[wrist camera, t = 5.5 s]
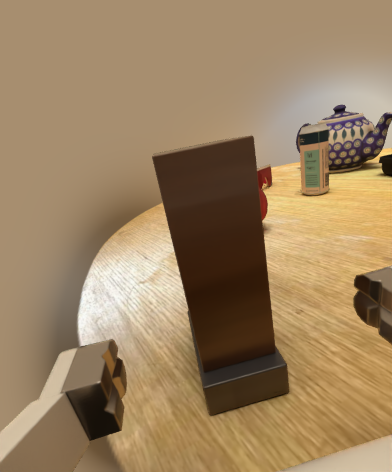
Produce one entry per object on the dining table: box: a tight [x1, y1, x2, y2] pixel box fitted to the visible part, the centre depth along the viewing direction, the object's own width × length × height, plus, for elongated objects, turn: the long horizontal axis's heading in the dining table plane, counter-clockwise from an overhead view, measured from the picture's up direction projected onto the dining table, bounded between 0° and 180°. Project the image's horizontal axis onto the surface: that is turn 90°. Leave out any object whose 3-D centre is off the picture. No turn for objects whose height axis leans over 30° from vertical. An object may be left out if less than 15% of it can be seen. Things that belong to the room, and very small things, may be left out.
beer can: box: [299, 123, 329, 195], centre depth 46 cm, size 5×5×12 cm
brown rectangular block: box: [152, 136, 289, 415], centre depth 14 cm, size 6×4×13 cm
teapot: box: [296, 105, 392, 173], centre depth 62 cm, size 25×15×15 cm, turn 27°
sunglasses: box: [257, 164, 272, 189], centre depth 64 cm, size 17×17×5 cm
